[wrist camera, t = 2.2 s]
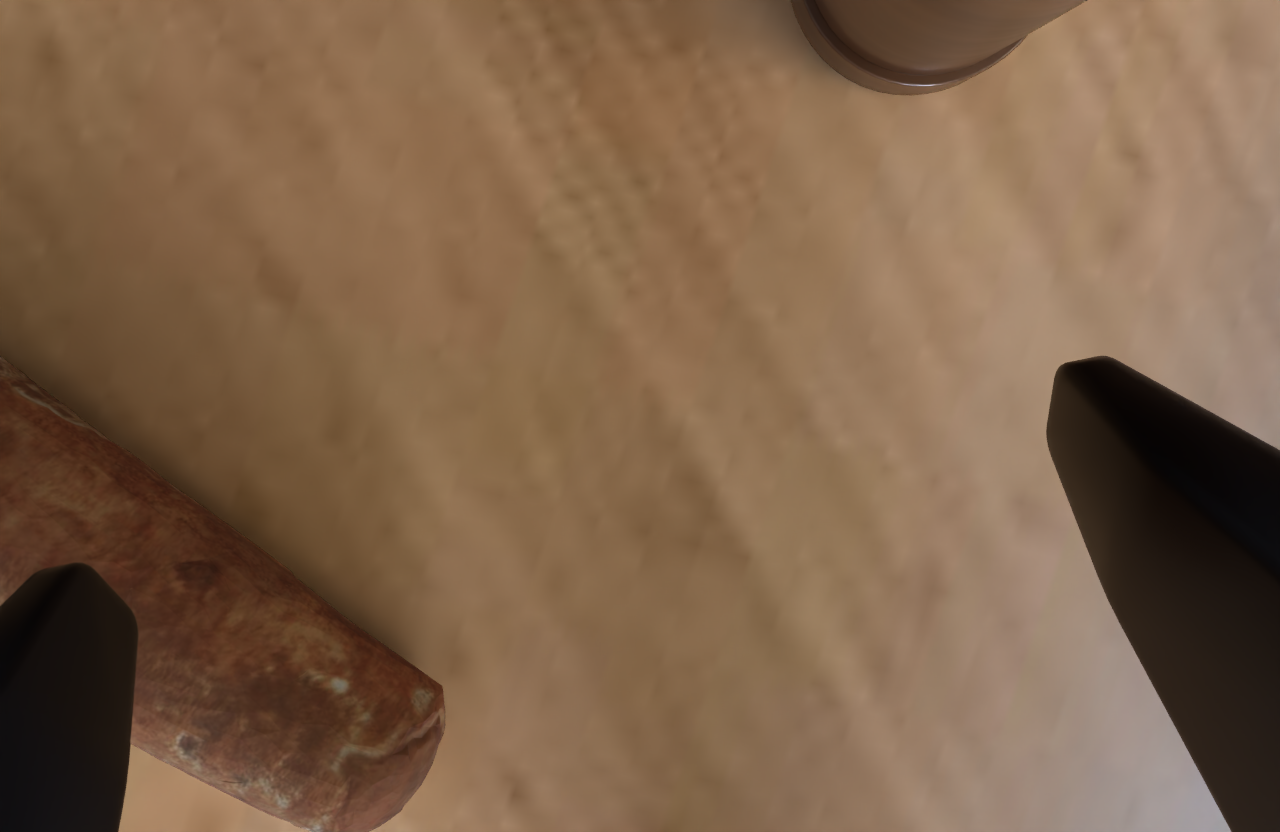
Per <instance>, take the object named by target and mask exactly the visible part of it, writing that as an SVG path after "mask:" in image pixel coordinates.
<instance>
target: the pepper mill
mask: <svg viewBox="0 0 1280 832" xmlns="http://www.w3.org/2000/svg"><path fill="white" fill-rule="evenodd" d="M1085 1H1087V0H791V3H792V6H793V9H794V12H795V16H796V18H797V20H798V22H799V25H800V27H801V29H802V31H803V33H804V34H805V36H806V38H807V39H808V41H809V42H810V44H811V45H812V47H813V48H814V49H815V50H816V52H817V53H818V54H819V55H820V56H821V58H822V59H823V60H824V61H826V62H827V63H828V64H829V65H830V66H831V67H832V68H833V69H834V70H836V71H837V72H839V73H840V74H842V75H843V76H844V77H846V78H847V79H849V80H851V81H853V82H855V83H857V84H859V85H861V86H863V87H866V88H869V89H872V90H875V91H878V92H884V93H889V94H895V95H919V94H928V93H933V92H937V91H942V90H945V89H948V88H950V87H953V86H956V85H958V84H960V83H962V82H964V81H966V80H968V79H970V78H972V77H974V76H976V75H978V74H979V73H981V72H983V71H985V70H987V69H989V68H990V67H992V66H993V65H995V64H996V63H998V62H999V61H1001V60H1002V59H1004V58H1005V57H1006V56H1007V55H1008V54H1010V53H1011V52H1012V51H1013V50H1014V49H1015V48H1016V47H1017V46H1019V45H1020V43H1021V42H1022V41H1023V40H1024V39H1025V38H1026V37H1027V35H1028V34H1030V33H1032V32H1033V31H1035V30H1037V29H1038V28H1040V27H1042V26H1044V25H1045V24H1047V23H1049V22H1051V21H1052V20H1054V19H1056V18H1058V17H1059V16H1061V15H1063V14H1065V13H1066V12H1068V11H1070V10H1072V9H1073V8H1075V7H1077V6H1078V5H1080V4H1082V3H1084V2H1085Z"/></svg>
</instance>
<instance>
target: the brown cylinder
mask: <svg viewBox="0 0 1280 832" xmlns="http://www.w3.org/2000/svg"><path fill="white" fill-rule="evenodd" d="M74 562H82V563H85V564H87V565H90V566H91V567H92V568H94V569H95V570H96V571H97V572H98V573H99V575H100V576H101V577H102V578H103V579H104V580H105V581H106V582H107V583H108V584H109V585H110V586H111V587H112V589H113V590H114V591H115V592H116V593H117V594H118V595H119V596H120V597H121V598H122V599H123V600H124V601H125V603H126V604H127V605H128V606H129V607H130V608H131V610H132V611H133V613H134V615H135V617H136V620H137V624H138V631H139V639H138V651H137V664H136V677H135V690H134V703H133V716H132V729H131V742H130V744H132V745H134V746H136V747H138V748H140V749H142V750H144V751H145V752H147V753H149V754H151V755H152V756H154V757H156V758H157V759H159V760H161V761H163V762H166V763H168V764H170V765H172V766H174V767H176V768H178V769H180V770H182V771H184V772H185V773H187V774H189V775H191V776H193V777H195V778H197V779H199V780H200V781H202V782H204V783H206V784H208V785H210V786H212V787H215V788H217V789H219V790H221V791H223V792H225V793H227V794H229V795H231V796H233V797H235V798H237V799H239V800H241V801H243V802H245V803H247V804H249V805H251V806H253V807H255V808H257V809H259V810H261V811H263V812H265V813H267V814H270V815H272V816H275V817H277V818H280V819H283V820H285V821H288V822H290V823H292V824H293V825H295V826H297V827H300V828H304V829H307V830H309V831H311V832H369V831H371V830H373V829H375V828H377V827H379V826H381V825H382V824H384V823H385V822H387V821H388V820H390V819H391V818H392V817H394V816H395V815H396V814H398V813H399V812H400V811H401V810H402V808H403V807H404V805H405V804H406V803H407V802H408V801H409V799H410V798H411V797H412V796H413V795H414V793H415V792H416V791H417V789H418V788H419V787H420V786H421V784H422V782H423V781H424V779H425V777H426V775H427V773H428V771H429V769H430V768H431V766H432V763H433V761H434V758H435V755H436V752H437V748H438V745H439V743H440V741H441V738H442V736H443V734H444V730H445V705H444V696H443V688H442V686H441V685H440V684H439V683H437V682H436V681H434V680H433V679H431V678H430V677H429V676H427V675H426V674H425V673H423V672H422V671H420V670H419V669H418V668H416V667H415V666H413V665H412V664H410V663H409V662H407V661H406V660H405V659H403V658H402V657H400V656H399V655H397V654H396V653H395V652H393V651H392V650H391V649H389V648H388V647H386V646H385V645H384V644H382V643H381V642H379V641H378V640H376V639H375V638H373V637H372V636H370V635H369V634H367V633H366V632H364V631H363V630H361V629H360V628H359V627H357V626H356V625H355V624H353V623H352V622H351V621H349V620H348V619H347V618H345V617H344V616H343V615H341V614H340V613H339V612H338V611H336V610H335V609H334V608H333V607H332V606H330V605H329V604H328V603H327V602H325V601H324V600H323V599H322V598H320V597H319V596H318V595H317V594H316V593H314V592H313V591H312V590H311V589H309V588H308V587H307V586H306V585H304V584H303V583H302V582H300V581H299V580H298V579H297V578H295V576H294V575H293V574H292V572H291V571H290V570H289V569H288V568H286V567H285V566H284V565H282V564H281V563H279V562H278V561H277V560H275V559H274V558H273V557H271V556H270V555H269V554H267V553H266V552H265V551H263V550H262V549H261V548H259V547H258V546H257V545H255V544H254V543H252V542H251V541H250V540H248V539H247V538H246V537H244V536H243V535H242V534H240V533H239V532H237V531H236V530H235V529H233V528H232V527H231V526H229V525H228V524H226V523H225V522H224V521H222V520H221V519H219V518H218V517H216V516H215V515H214V514H212V513H211V512H209V511H208V510H207V509H205V508H204V507H202V506H201V505H200V504H198V503H197V502H196V501H194V500H193V499H191V498H190V497H188V496H187V495H185V494H184V493H182V492H181V491H180V490H178V489H177V488H175V487H174V486H173V485H171V484H170V483H169V482H167V481H166V480H165V479H164V478H162V477H161V476H160V475H159V474H157V473H156V472H155V471H154V470H152V469H151V468H150V467H149V466H147V465H146V464H145V463H144V462H142V461H141V460H140V459H138V458H137V457H135V456H134V455H133V454H131V453H130V452H128V451H127V450H125V449H123V448H121V447H120V446H118V445H116V444H115V443H113V442H111V441H110V440H109V439H107V438H106V437H105V436H104V435H102V434H101V433H100V432H99V431H97V430H96V429H95V428H93V427H92V426H90V425H89V424H87V423H86V422H84V421H83V420H82V419H81V418H79V417H78V416H77V415H76V414H75V413H74V412H73V411H71V410H70V409H69V408H67V407H66V406H65V405H63V404H62V403H61V402H59V401H58V400H56V399H55V398H54V397H52V396H51V395H49V394H48V393H47V392H46V391H45V390H44V389H42V388H41V387H39V386H37V385H36V384H35V383H34V382H33V381H31V380H30V379H29V378H28V377H27V376H25V375H24V374H23V373H22V372H20V371H19V370H18V369H16V368H15V367H14V366H13V365H11V364H10V363H9V362H7V361H6V360H5V359H3V358H2V357H1V356H0V606H1V605H2V604H3V603H4V602H5V601H6V600H7V599H8V598H9V597H10V596H11V595H12V594H13V593H14V592H15V591H16V590H17V589H18V588H19V587H20V586H21V585H22V584H23V583H24V582H25V581H26V580H27V579H28V578H29V577H30V576H31V575H32V574H34V573H35V572H37V571H39V570H42V569H45V568H49V567H54V566H59V565H64V564H69V563H74Z"/></svg>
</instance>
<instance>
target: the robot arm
mask: <svg viewBox="0 0 1280 832" xmlns="http://www.w3.org/2000/svg"><path fill="white" fill-rule="evenodd" d="M1046 432H1047V443H1048V447H1049V451H1050V454H1051V457H1052V460H1053V462H1054V465H1055V467H1056V470H1057V472H1058V475H1059V478H1060V480H1061V483H1062V485H1063V488H1064V490H1065V493H1066V496H1067V498H1068V501H1069V503H1070V506H1071V508H1072V511H1073V514H1074V516H1075V519H1076V521H1077V524H1078V526H1079V529H1080V531H1081V534H1082V537H1083V539H1084V542H1085V544H1086V547H1087V549H1088V552H1089V555H1090V557H1091V560H1092V562H1093V565H1094V567H1095V570H1096V572H1097V575H1098V577H1099V580H1100V582H1101V585H1102V587H1103V589H1104V592H1105V594H1106V596H1107V599H1108V601H1109V603H1110V605H1111V607H1112V609H1113V611H1114V613H1115V615H1116V617H1117V619H1118V621H1119V623H1120V625H1121V626H1122V628H1123V630H1124V632H1125V634H1126V636H1127V638H1128V639H1129V641H1130V643H1131V645H1132V647H1133V649H1134V651H1135V652H1136V654H1137V656H1138V658H1139V660H1140V662H1141V664H1142V666H1143V667H1144V669H1145V671H1146V673H1147V675H1148V677H1149V679H1150V680H1151V682H1152V684H1153V686H1154V688H1155V690H1156V692H1157V694H1158V695H1159V697H1160V699H1161V701H1162V703H1163V705H1164V707H1165V708H1166V710H1167V712H1168V714H1169V716H1170V718H1171V720H1172V721H1173V723H1174V725H1175V727H1176V729H1177V731H1178V733H1179V735H1180V736H1181V738H1182V740H1183V742H1184V744H1185V746H1186V748H1187V749H1188V751H1189V753H1190V755H1191V757H1192V759H1193V761H1194V763H1195V764H1196V766H1197V768H1198V770H1199V772H1200V774H1201V776H1202V777H1203V779H1204V781H1205V783H1206V785H1207V787H1208V789H1209V790H1210V792H1211V794H1212V796H1213V798H1214V800H1215V802H1216V804H1217V805H1218V807H1219V809H1220V811H1221V813H1222V815H1223V817H1224V818H1225V820H1226V822H1227V824H1228V826H1229V828H1230V830H1231V832H1280V450H1278V449H1277V448H1275V447H1273V446H1271V445H1269V444H1268V443H1266V442H1264V441H1262V440H1260V439H1259V438H1257V437H1255V436H1253V435H1251V434H1250V433H1248V432H1246V431H1244V430H1242V429H1241V428H1239V427H1237V426H1235V425H1233V424H1231V423H1230V422H1228V421H1226V420H1224V419H1222V418H1221V417H1219V416H1217V415H1215V414H1213V413H1212V412H1210V411H1208V410H1206V409H1204V408H1203V407H1201V406H1199V405H1197V404H1195V403H1194V402H1192V401H1190V400H1188V399H1186V398H1185V397H1183V396H1181V395H1179V394H1177V393H1176V392H1174V391H1172V390H1170V389H1168V388H1167V387H1165V386H1163V385H1161V384H1159V383H1158V382H1156V381H1154V380H1152V379H1150V378H1148V377H1147V376H1145V375H1143V374H1141V373H1139V372H1138V371H1136V370H1134V369H1132V368H1130V367H1129V366H1127V365H1125V364H1123V363H1121V362H1120V361H1118V360H1116V359H1114V358H1111V357H1108V356H1097V357H1092V358H1087V359H1082V360H1077V361H1072V362H1067V363H1064V364H1063V365H1061V366H1060V367H1059V368H1058V370H1057V371H1056V374H1055V378H1054V383H1053V390H1052V396H1051V403H1050V409H1049V415H1048V422H1047V430H1046ZM138 639H139V631H138V624H137V620H136V617H135V615H134V613H133V611H132V610H131V608H130V607H129V606H128V605H127V604H126V603H125V601H124V600H123V599H122V598H121V597H120V596H119V595H118V594H117V593H116V592H115V591H114V590H113V589H112V587H111V586H110V585H109V584H108V583H107V582H106V581H105V580H104V579H103V578H102V577H101V576H100V575H99V573H98V572H97V571H96V570H95V569H94V568H92V567H91V566H90V565H87V564H85V563H82V562H74V563H69V564H64V565H59V566H54V567H49V568H45V569H42V570H39V571H37V572H35V573H34V574H32V575H31V576H30V577H29V578H28V579H27V580H26V581H25V582H24V583H23V584H22V585H21V586H20V587H19V588H18V589H17V590H16V591H15V592H14V593H13V594H12V595H11V596H10V597H9V598H8V599H7V600H6V601H5V602H4V603H3V604H2V605H1V606H0V832H118V830H119V825H120V819H121V814H122V808H123V802H124V796H125V790H126V783H127V774H128V765H129V755H130V742H131V729H132V716H133V703H134V690H135V677H136V664H137V651H138Z"/></svg>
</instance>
